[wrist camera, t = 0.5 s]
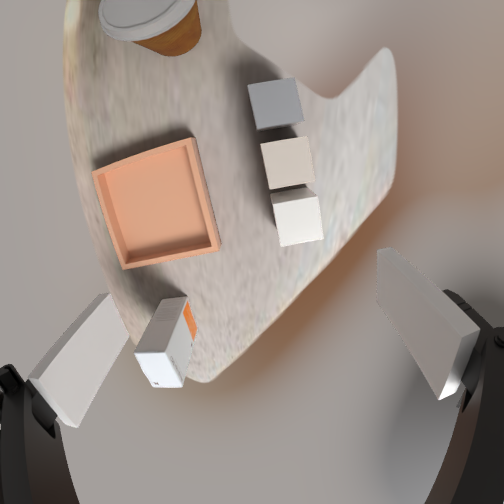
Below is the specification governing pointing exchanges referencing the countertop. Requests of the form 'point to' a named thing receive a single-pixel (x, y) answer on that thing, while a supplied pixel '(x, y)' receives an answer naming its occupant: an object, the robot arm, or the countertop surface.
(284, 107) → the grey rectangular block
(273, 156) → the beige rectangular block
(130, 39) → the disposable coffee cup
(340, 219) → the countertop surface
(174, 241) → the dish
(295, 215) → the white block
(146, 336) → the skincare box
